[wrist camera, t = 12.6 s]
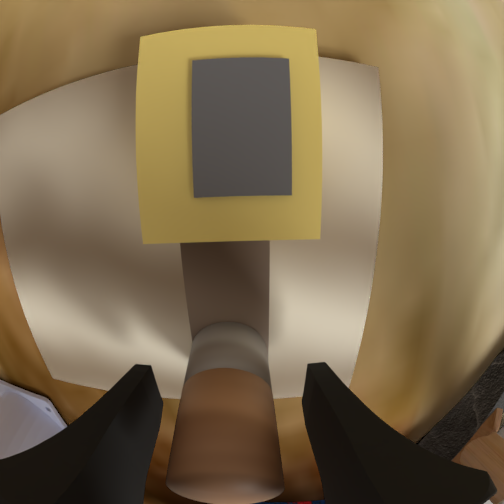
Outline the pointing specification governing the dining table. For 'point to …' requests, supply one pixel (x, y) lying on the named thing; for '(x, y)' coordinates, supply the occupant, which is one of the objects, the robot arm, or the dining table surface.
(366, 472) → the robot arm
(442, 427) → the hammer
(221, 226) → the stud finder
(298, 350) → the striped beige square plate
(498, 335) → the dining table surface
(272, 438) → the grey-capped tan cylinder
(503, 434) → the house plant
